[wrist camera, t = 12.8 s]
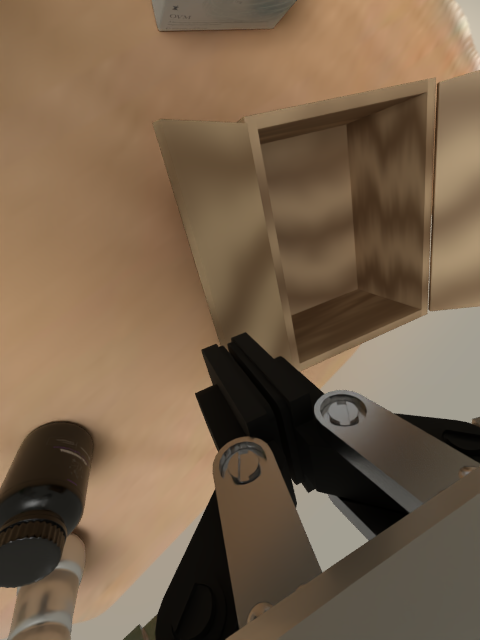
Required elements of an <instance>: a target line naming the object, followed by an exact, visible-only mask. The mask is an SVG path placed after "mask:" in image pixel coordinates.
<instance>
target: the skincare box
mask: <svg viewBox="0 0 480 640" xmlns="http://www.w3.org/2000/svg"><path fill="white" fill-rule="evenodd" d="M296 1H297V0H152V5H153V10H154V14H155V19H156V23H157V27H158V30H159V31H178V30H230V29H273V28H274V27H275V25H276V24H277V23H278V22H279V21H280V20H281V18H282V17H283V16H284V15H285V14H286V12H287V11H288V10H289V9H290V8H291V7H292V5H293V4H294V3H295V2H296Z"/></svg>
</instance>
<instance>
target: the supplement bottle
mask: <svg viewBox="0 0 480 640" xmlns="http://www.w3.org/2000/svg"><path fill="white" fill-rule="evenodd" d="M92 454H93V441H92V439H91V436H90V435H89V434H88V432H87V431H86V430H84V429H83V428H82V427H80V426H78V425H75V424H71V423H65V422H59V423H51V424H47V425H44V426H42V427H39V428H38V429H36V430H34V431H33V432H31V433H30V434H29V435H28V436H27V437H26V438H25V440H24V441H23V442H22V444H21V446H20V448H19V450H18V452H17V454H16V456H15V458H14V460H13V462H12V465H11V467H10V469H9V471H8V473H7V475H6V477H5V479H4V481H3V483H2V486H1V488H0V587H6V588H9V587H12V588H15V587H22V586H25V585H30V584H32V583H35V582H37V581H39V580H41V579H43V578H45V577H46V576H48V575H49V574H50V573H51V572H52V571H54V569H55V568H56V567H57V566H58V564H59V562H60V560H61V557H62V553H63V548H64V545H65V542H66V538H67V537H68V536H69V535H70V534H71V533H72V532H73V530H74V529H75V528H76V527H77V525H78V524H79V522H80V520H81V518H82V515H83V511H84V506H85V500H86V493H87V487H88V480H89V474H90V467H91V461H92Z"/></svg>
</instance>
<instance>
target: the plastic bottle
mask: <svg viewBox="0 0 480 640" xmlns="http://www.w3.org/2000/svg"><path fill="white" fill-rule="evenodd" d="M85 563H86V553H85V545H84V543H83V541H82V540H81V539H80V538H79V536H77V535H76V534H73V533H71V534H70V535H69V536H68V537H67V538H66V542H65V545H64V548H63V553H62V557H61V560H60V562H59V564H58V566H57V567H56V568H55V569H54V571H52V572H51V573H50V574H49V575H48V576H46V577H45V578H43V579H41V580H39V581H37V582H35V583H32V584H30V585H25V586H22V587H17V599H16V604H15V609H14V613H13V618H12V623H11V628H10V633H9V636H8V639H7V640H71V636H70V635H71V628H72V618H73V613H74V608H75V603H76V598H77V593H78V588H79V585H80V582H81V579H82V576H83V572H84V567H85Z"/></svg>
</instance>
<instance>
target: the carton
mask: <svg viewBox="0 0 480 640" xmlns="http://www.w3.org/2000/svg"><path fill="white" fill-rule="evenodd" d="M435 92H436V78H431V79H426V80H421V81H416V82H411V83H406V84H401V85H397V86H392V87H387V88H382V89H377V90H372V91H367V92H363V93H358V94H353V95H348V96H343V97H338V98H333V99H328V100H324V101H319V102H314V103H309V104H304V105H299V106H294V107H290V108H285V109H280V110H275V111H270V112H265V113H260V114H255V115H251V116H246V117H243V118H242V119H240V120H239V121H238V122H237V123H247V127H248V132H249V138H250V143H251V148H252V153H253V159H254V164H255V169H256V174H257V179H258V185H259V190H260V195H261V200H262V206H263V211H264V216H265V221H266V226H267V232H268V237H269V242H270V247H271V253H272V258H273V263H274V268H275V273H276V279H277V284H278V289H279V294H280V300H281V305H282V310H283V315H284V320H285V326H286V331H287V336H288V341H289V347H290V352H291V357H292V362H293V366H294V367H295V368H296V369H297V370H298V371H299V372H300V371H302V370H304V369H306V368H309V367H311V366H313V365H315V364H317V363H320V362H322V361H324V360H326V359H329V358H331V357H333V356H335V355H337V354H340V353H342V352H344V351H346V350H348V349H351V348H353V347H355V346H357V345H360V344H362V343H364V342H366V341H368V340H371V339H373V338H375V337H377V336H379V335H382V334H384V333H386V332H388V331H390V330H393V329H395V328H397V327H399V326H401V325H404V324H406V323H408V322H410V321H413V320H415V319H417V318H419V317H421V316H423V315H426V314H427V308H428V281H429V254H430V253H429V252H430V227H431V200H432V173H433V146H434V119H435Z"/></svg>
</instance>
